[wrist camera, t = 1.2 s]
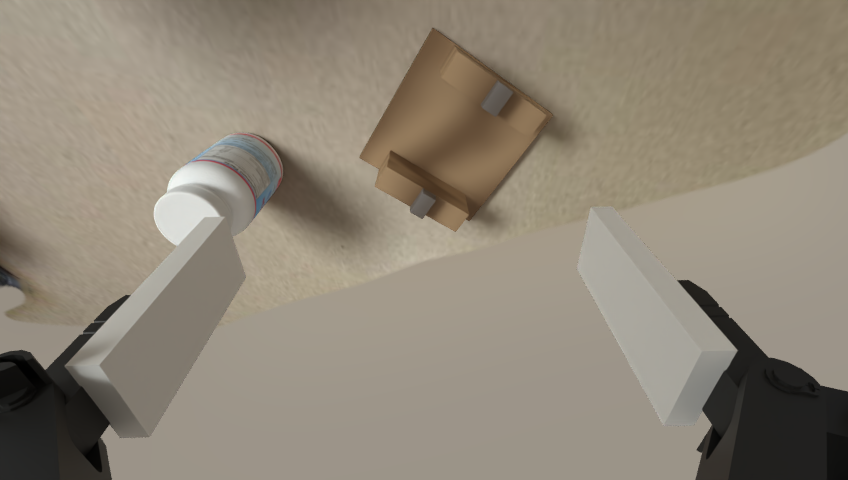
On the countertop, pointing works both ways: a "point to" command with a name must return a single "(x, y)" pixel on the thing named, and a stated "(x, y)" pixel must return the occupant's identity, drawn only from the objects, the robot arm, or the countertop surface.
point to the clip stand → (450, 133)
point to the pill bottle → (220, 186)
